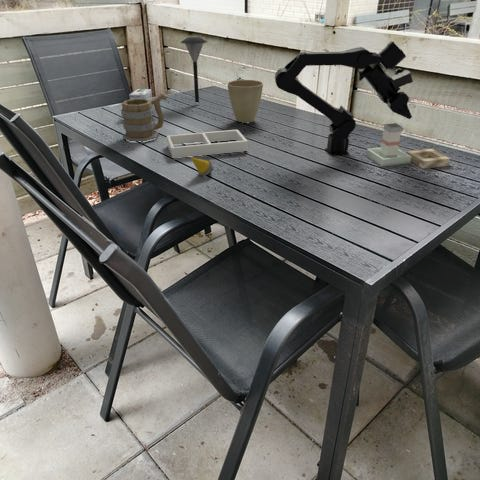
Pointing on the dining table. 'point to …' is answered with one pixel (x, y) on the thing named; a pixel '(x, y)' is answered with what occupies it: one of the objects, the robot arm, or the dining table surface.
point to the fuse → (390, 140)
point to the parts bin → (207, 143)
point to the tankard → (142, 118)
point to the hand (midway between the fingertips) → (406, 114)
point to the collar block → (433, 158)
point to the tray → (399, 160)
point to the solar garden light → (194, 57)
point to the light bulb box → (141, 94)
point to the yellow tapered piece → (202, 166)
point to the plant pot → (245, 98)
